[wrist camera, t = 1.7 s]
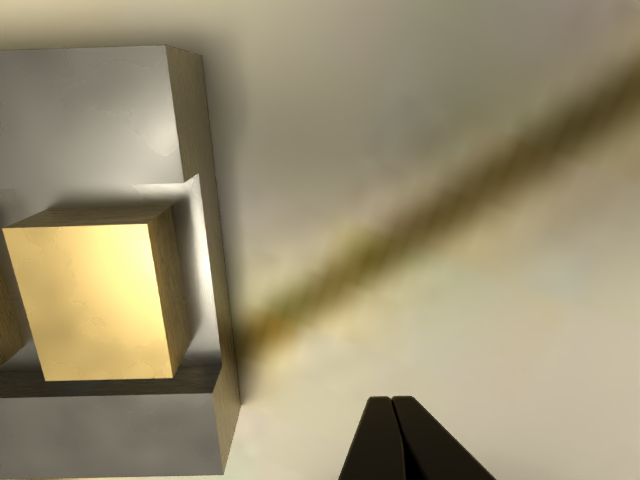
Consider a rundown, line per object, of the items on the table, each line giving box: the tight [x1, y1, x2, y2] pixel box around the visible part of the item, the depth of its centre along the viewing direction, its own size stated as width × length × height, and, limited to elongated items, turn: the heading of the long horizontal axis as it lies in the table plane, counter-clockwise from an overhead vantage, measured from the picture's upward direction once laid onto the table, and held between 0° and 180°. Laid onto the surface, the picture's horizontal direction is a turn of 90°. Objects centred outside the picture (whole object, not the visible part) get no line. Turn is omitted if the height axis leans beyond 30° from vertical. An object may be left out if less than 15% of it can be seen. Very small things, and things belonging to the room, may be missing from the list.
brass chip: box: [2, 206, 191, 381], centre depth 14 cm, size 5×4×2 cm
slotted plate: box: [0, 45, 241, 480], centre depth 15 cm, size 14×14×4 cm
